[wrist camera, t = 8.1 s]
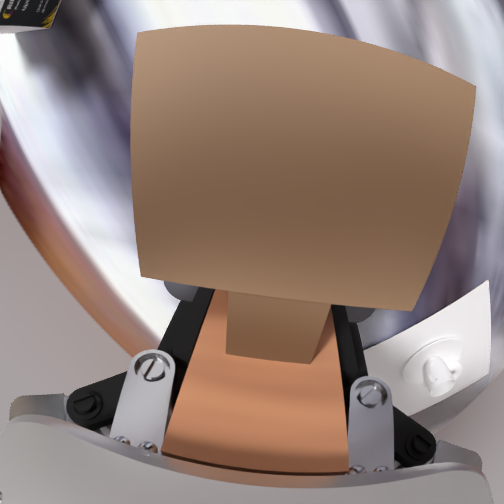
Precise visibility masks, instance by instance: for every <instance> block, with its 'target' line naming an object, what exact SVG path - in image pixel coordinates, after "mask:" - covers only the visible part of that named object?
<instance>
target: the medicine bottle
mask: <svg viewBox="0 0 504 504" xmlns="http://www.w3.org/2000/svg"><path fill="white" fill-rule="evenodd" d="M61 1H62V0H0V33H18V32H25V31H32V30H41V29H49V28H50V27H51V26H52V23H53V21H54V18H55V15H56V13H57V10H58V8H59V6H60V3H61Z"/></svg>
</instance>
